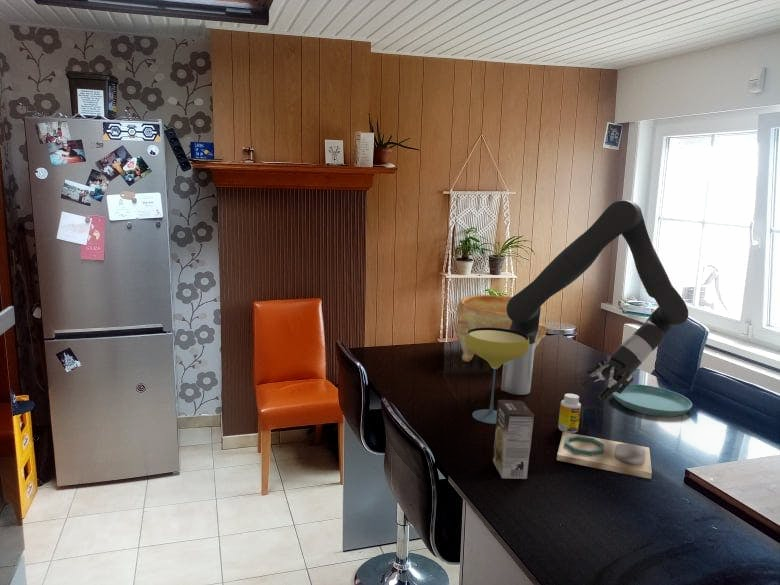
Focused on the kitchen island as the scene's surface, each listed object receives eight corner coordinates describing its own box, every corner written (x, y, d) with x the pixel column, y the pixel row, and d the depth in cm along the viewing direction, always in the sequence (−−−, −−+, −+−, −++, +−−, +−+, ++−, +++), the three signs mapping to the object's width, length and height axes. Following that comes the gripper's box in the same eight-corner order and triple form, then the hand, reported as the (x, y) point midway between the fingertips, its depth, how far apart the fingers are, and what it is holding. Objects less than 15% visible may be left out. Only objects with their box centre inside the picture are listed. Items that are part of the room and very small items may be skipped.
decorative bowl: (433, 347, 253) (436, 293, 249) (508, 345, 264) (513, 293, 260) (467, 373, 221) (472, 311, 217) (551, 369, 232) (557, 310, 228)
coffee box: (491, 461, 151) (497, 399, 148) (516, 461, 151) (522, 399, 149) (501, 479, 142) (507, 413, 139) (528, 479, 143) (534, 413, 140)
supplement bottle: (569, 435, 170) (573, 400, 168) (553, 428, 174) (557, 394, 172) (582, 431, 173) (586, 397, 171) (566, 424, 177) (570, 391, 175)
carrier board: (556, 460, 153) (558, 445, 153) (562, 436, 168) (563, 423, 168) (651, 478, 146) (653, 463, 145) (648, 452, 161) (650, 438, 160)
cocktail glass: (523, 411, 186) (531, 331, 182) (519, 433, 169) (528, 346, 165) (464, 402, 191) (471, 324, 186) (455, 423, 174) (461, 338, 169)
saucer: (643, 422, 183) (645, 411, 183) (595, 394, 206) (596, 385, 205) (708, 417, 190) (710, 407, 190) (655, 391, 213) (656, 382, 212)
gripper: (609, 338, 180) (570, 377, 179) (640, 352, 166) (598, 393, 165) (623, 355, 182) (584, 393, 181) (654, 370, 169) (613, 411, 168)
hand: (591, 393), depth 173 cm, fingers open, 8 cm apart
